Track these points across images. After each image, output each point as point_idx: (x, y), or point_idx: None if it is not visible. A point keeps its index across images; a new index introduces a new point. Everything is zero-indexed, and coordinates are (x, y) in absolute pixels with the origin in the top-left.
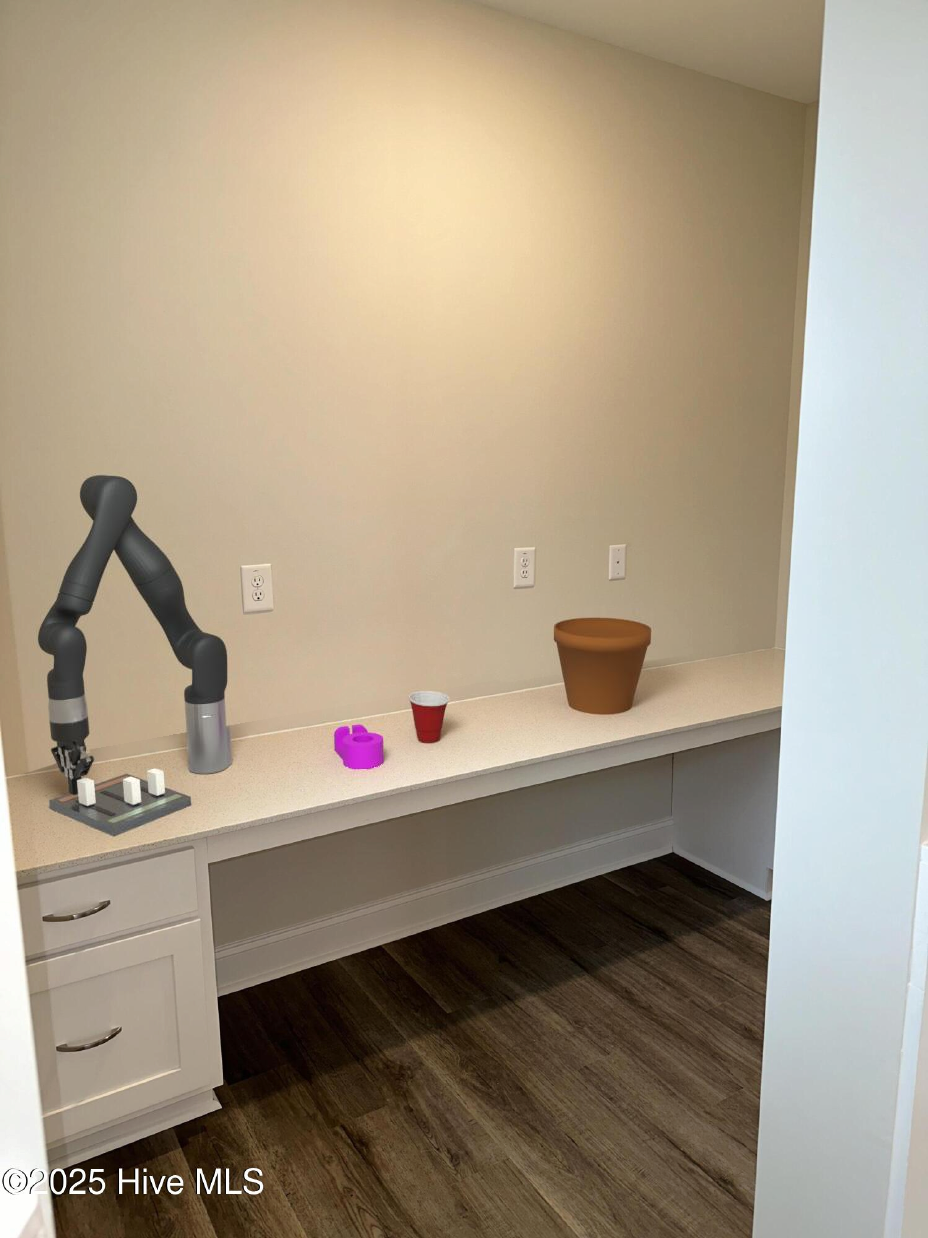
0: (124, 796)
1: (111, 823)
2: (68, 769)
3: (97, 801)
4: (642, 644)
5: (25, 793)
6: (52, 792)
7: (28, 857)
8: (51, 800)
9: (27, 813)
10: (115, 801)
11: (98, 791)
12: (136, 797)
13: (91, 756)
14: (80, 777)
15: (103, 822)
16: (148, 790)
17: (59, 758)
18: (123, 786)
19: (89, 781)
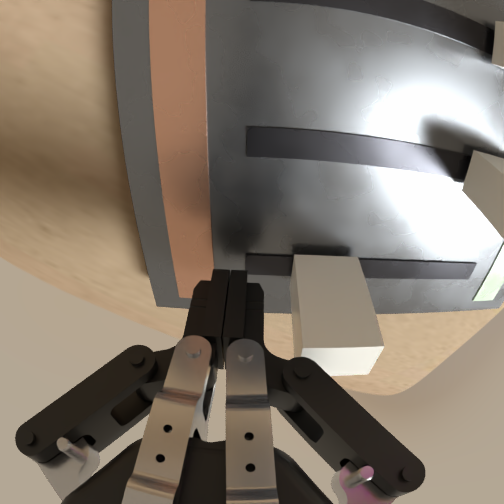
0: (476, 204)
1: (488, 301)
2: (209, 411)
3: (335, 229)
4: None
5: (9, 252)
6: (31, 206)
7: (372, 392)
8: (164, 304)
9: (149, 320)
10: (411, 191)
11: (227, 153)
12: None
13: (411, 491)
14: (266, 352)
15: (467, 309)
16: (498, 65)
17: (111, 438)
18: (501, 235)
19: (369, 359)
